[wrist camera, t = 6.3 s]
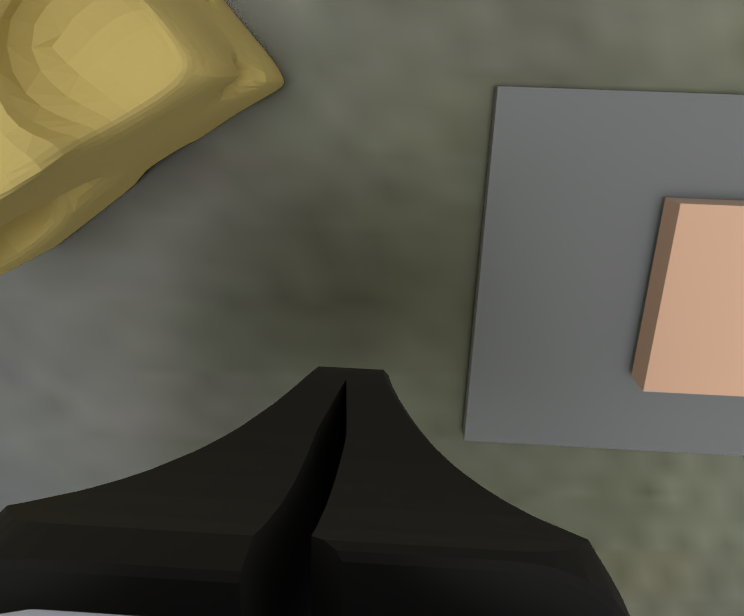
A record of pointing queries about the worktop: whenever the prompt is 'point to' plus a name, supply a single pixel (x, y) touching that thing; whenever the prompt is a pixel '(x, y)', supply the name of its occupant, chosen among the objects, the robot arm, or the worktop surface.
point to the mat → (590, 266)
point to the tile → (695, 301)
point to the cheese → (108, 102)
